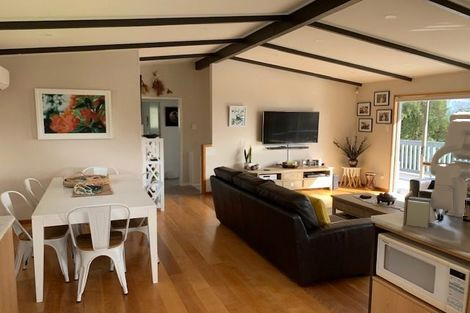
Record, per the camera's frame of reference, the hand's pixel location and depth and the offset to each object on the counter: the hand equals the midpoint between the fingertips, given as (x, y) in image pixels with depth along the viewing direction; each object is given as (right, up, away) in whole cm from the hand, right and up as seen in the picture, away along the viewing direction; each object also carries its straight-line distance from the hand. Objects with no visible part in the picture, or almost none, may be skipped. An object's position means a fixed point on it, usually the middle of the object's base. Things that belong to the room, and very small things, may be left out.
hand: (439, 221), depth 184 cm
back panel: (-13, -1, +9) cm, 16 cm away
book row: (-12, -2, 0) cm, 12 cm away
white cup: (-3, 0, +3) cm, 5 cm away
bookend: (-3, 0, +13) cm, 14 cm away
